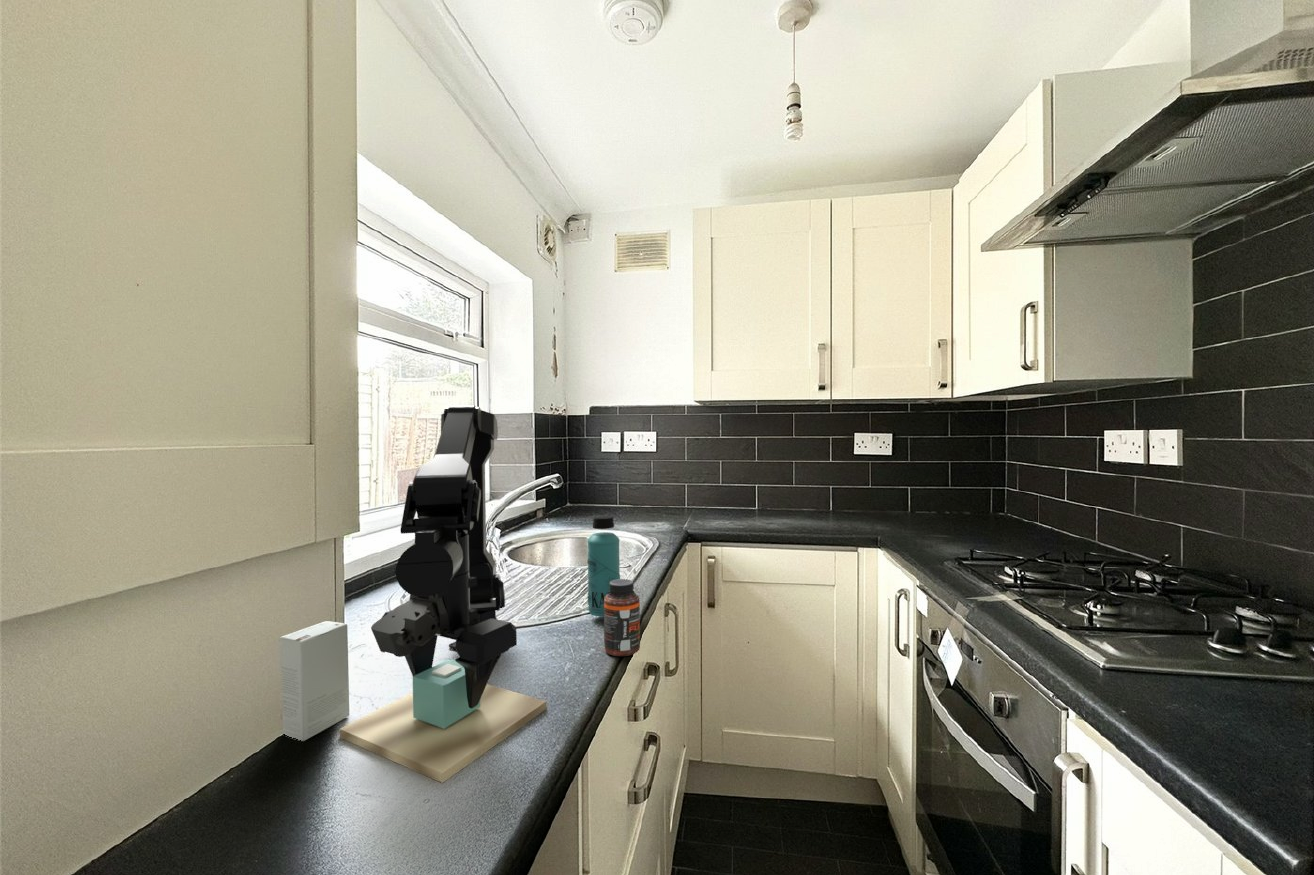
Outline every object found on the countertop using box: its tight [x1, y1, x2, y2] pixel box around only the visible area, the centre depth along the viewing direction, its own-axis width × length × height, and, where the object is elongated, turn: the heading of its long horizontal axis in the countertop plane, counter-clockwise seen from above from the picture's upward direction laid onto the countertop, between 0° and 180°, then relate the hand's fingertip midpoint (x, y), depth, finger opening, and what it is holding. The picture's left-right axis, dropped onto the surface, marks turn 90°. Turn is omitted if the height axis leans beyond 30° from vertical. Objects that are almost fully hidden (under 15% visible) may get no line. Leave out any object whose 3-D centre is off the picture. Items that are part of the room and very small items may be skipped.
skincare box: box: [278, 620, 350, 742], centre depth 63 cm, size 6×4×12 cm
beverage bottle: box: [586, 515, 621, 618], centre depth 99 cm, size 6×7×20 cm
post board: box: [339, 683, 547, 784], centre depth 64 cm, size 18×16×4 cm
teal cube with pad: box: [412, 658, 481, 728], centre depth 64 cm, size 6×6×5 cm
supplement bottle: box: [603, 578, 641, 657], centre depth 84 cm, size 6×6×11 cm
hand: (447, 698), depth 64 cm, fingers open, 9 cm apart
